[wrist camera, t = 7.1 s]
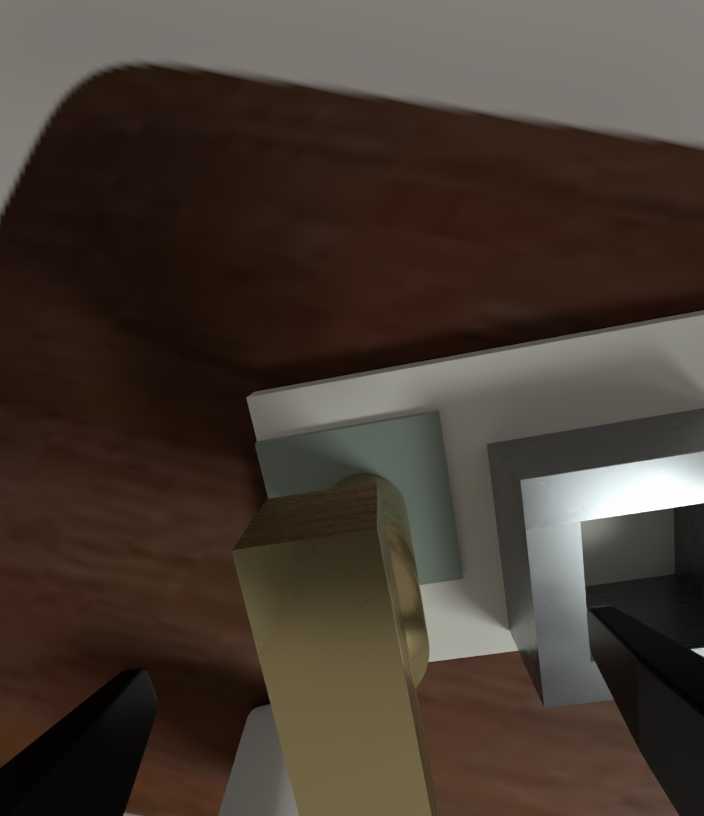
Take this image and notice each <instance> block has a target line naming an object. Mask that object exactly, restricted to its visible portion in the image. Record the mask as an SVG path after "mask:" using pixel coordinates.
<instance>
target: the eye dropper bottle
mask: <svg viewBox="0 0 704 816" xmlns="http://www.w3.org/2000/svg"><path fill="white" fill-rule="evenodd" d="M218 816H299V814H298V810H297V806H296V802H295V798H294V794H293V790H292V786H291V782H290V778H289V774H288V771H287V767H286V763H285V759H284V755H283V751H282V747H281V743H280V739H279V735H278V731H277V727H276V723H275V719H274V715H273V711H272V707H271V704H267V705H263V706H259V707H257V708H255V709H253V710H252V711H251V712H250V714H249V716H248V717H247V720H246V723H245V726H244V730H243V733H242V736H241V740H240V743H239V747H238V750H237V753H236V757H235V760H234V764H233V767H232V770H231V774H230V777H229V781H228V784H227V787H226V791H225V794H224V798H223V801H222V804H221V808H220V811H219V815H218Z"/></svg>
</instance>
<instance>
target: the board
mask: <svg viewBox="0 0 704 816" xmlns="http://www.w3.org/2000/svg"><path fill="white" fill-rule="evenodd" d="M246 399H247V403H248V407H249V411H250V415H251V419H252V423H253V427H254V431H255V435H256V439H257V441H261V440H267V439H273V438H279V437H285V436H290V435H296V434H302V433H308V432H314V431H319V430H325V429H331V428H337V427H343V426H348V425H354V424H360V423H366V422H372V421H377V420H383V419H389V418H395V417H401V416H406V415H412V414H418V413H424V412H430V411H435V410H438V411H439V413H440V420H441V427H442V433H443V440H444V447H445V454H446V461H447V468H448V475H449V482H450V489H451V496H452V502H453V509H454V516H455V523H456V530H457V537H458V544H459V551H460V558H461V565H462V571H463V578H464V579H459V580H452V581H445V582H438V583H431V584H424V585H420V591H421V597H422V603H423V609H424V615H425V621H426V627H427V633H428V639H429V648H430V650H429V661H428V662H432V661H440V660H448V659H456V658H464V657H471V656H479V655H487V654H495V653H503V652H510V651H518V649H517V646H516V644H515V642H514V640H513V637H512V635H511V633H510V631H509V623H508V615H507V607H506V599H505V590H504V582H503V574H502V566H501V557H500V549H499V541H498V533H497V524H496V516H495V508H494V500H493V491H492V483H491V475H490V467H489V459H488V450H487V444H489V443H495V442H501V441H507V440H513V439H519V438H525V437H532V436H538V435H544V434H550V433H556V432H562V431H568V430H574V429H580V428H586V427H592V426H598V425H604V424H610V423H616V422H622V421H628V420H635V419H641V418H647V417H653V416H659V415H665V414H671V413H677V412H683V411H689V410H695V409H701V408H704V310H702V311H697V312H691V313H686V314H680V315H675V316H669V317H664V318H658V319H653V320H647V321H642V322H636V323H631V324H625V325H620V326H614V327H609V328H603V329H598V330H592V331H587V332H581V333H576V334H570V335H565V336H559V337H553V338H548V339H542V340H537V341H531V342H526V343H520V344H515V345H509V346H504V347H498V348H493V349H487V350H482V351H476V352H471V353H465V354H460V355H454V356H449V357H443V358H438V359H432V360H427V361H421V362H416V363H410V364H405V365H399V366H394V367H388V368H383V369H377V370H372V371H366V372H361V373H355V374H350V375H344V376H339V377H333V378H328V379H322V380H317V381H311V382H306V383H300V384H295V385H289V386H284V387H278V388H273V389H267V390H262V391H256V392H253V393H252V394H251V395H249V396H248V397H246ZM580 524H581V537H582V551H583V565H584V578H585V586H592V585H599V584H606V583H613V582H621V581H628V580H635V579H643V578H650V577H657V576H664V575H672V574H675V551H674V508H667V509H660V510H654V511H647V512H640V513H634V514H627V515H620V516H613V517H607V518H600V519H593V520H587V521H580Z"/></svg>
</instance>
